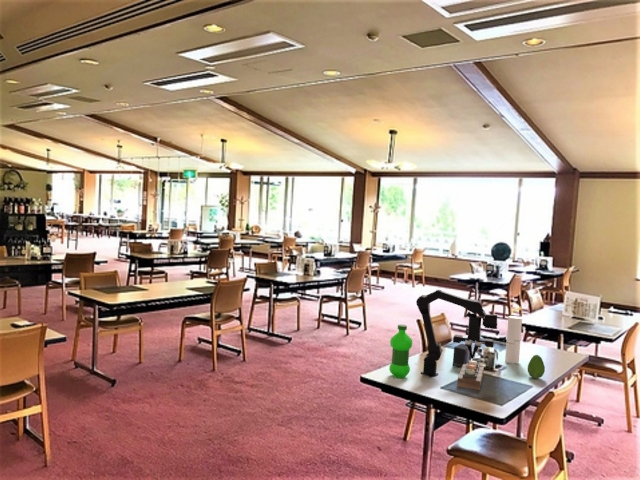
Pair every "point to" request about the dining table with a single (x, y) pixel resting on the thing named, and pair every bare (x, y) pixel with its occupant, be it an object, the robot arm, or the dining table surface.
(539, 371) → the avocado
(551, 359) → the dining table surface
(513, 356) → the cylindrical container
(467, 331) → the robot arm
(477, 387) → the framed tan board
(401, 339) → the plastic bottle
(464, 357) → the small box
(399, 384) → the dining table surface
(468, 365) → the button terracotta
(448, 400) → the dining table surface
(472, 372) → the button sage
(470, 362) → the button cream
